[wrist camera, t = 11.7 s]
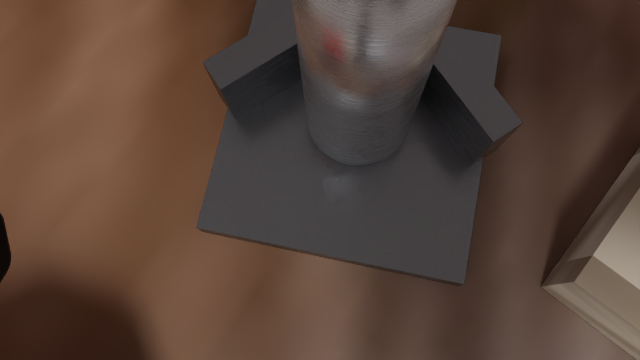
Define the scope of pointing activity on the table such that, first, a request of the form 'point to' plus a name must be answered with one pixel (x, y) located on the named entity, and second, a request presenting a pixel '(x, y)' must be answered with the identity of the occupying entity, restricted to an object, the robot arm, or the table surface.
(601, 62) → the table surface
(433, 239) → the V-block
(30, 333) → the table surface
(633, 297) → the block with rectangular hole
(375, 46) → the axle
